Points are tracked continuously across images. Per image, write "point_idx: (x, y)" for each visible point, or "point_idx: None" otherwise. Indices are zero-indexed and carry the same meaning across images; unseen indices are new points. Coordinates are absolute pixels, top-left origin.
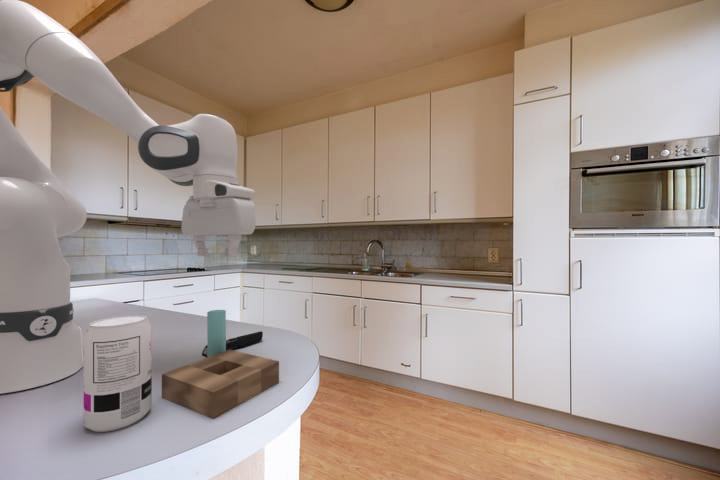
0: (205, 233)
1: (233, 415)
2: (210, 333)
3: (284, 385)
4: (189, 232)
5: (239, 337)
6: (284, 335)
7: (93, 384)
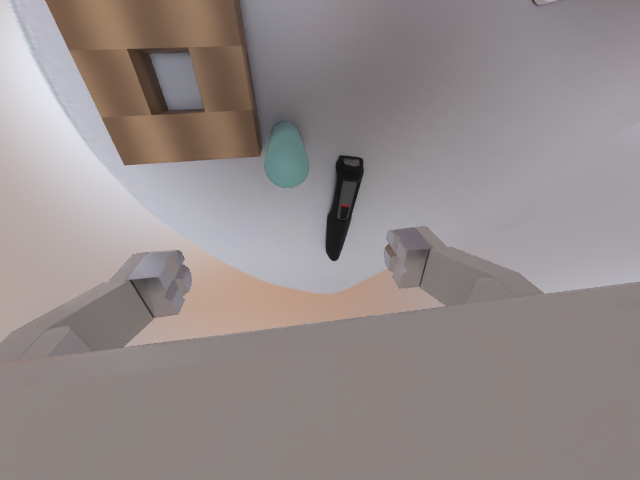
0: (344, 323)
1: None
2: (279, 134)
3: None
4: (615, 302)
5: (339, 222)
6: (318, 281)
7: None
